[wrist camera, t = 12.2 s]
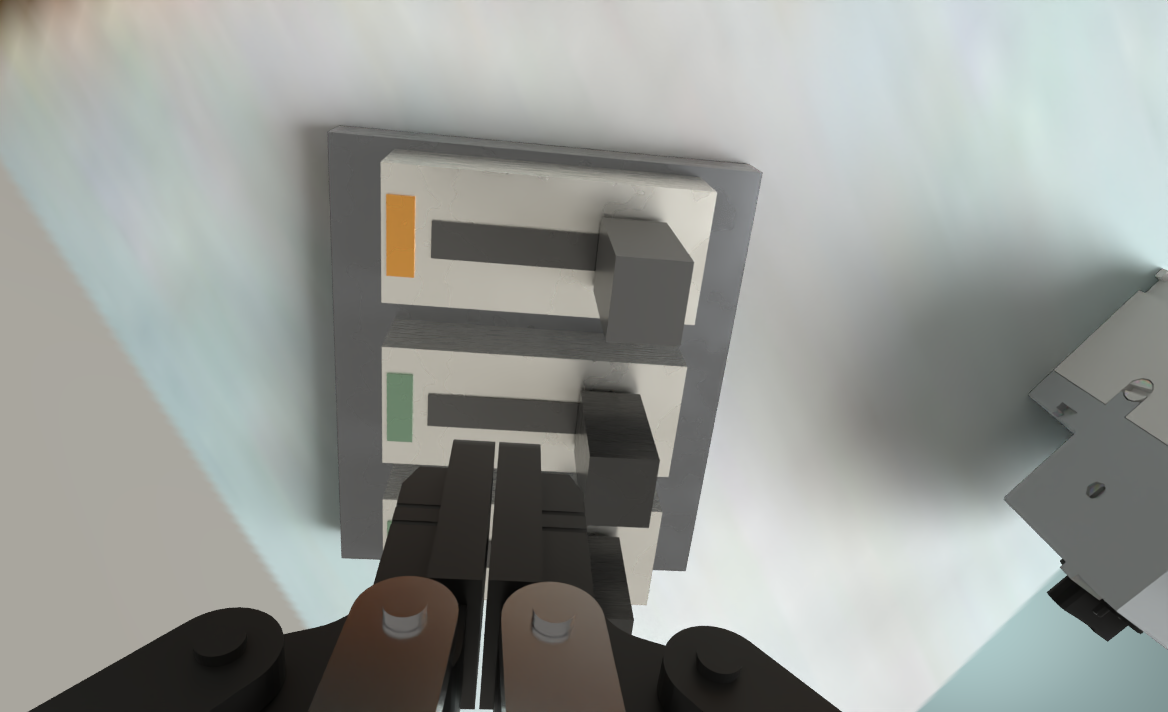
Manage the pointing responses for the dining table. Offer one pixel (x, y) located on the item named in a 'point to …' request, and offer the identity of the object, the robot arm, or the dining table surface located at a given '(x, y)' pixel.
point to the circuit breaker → (1109, 472)
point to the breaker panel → (376, 323)
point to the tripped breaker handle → (641, 282)
